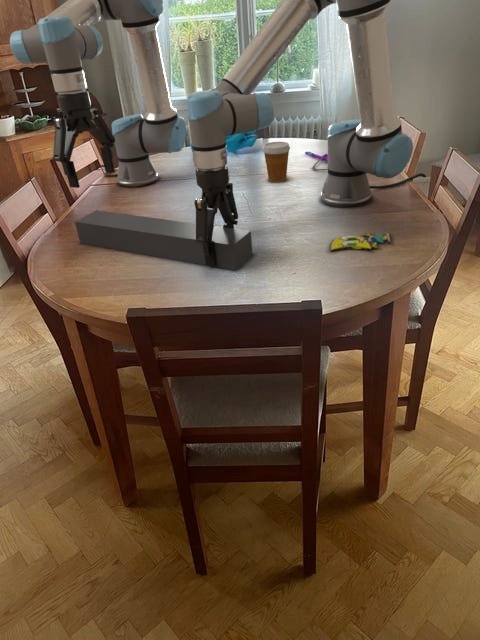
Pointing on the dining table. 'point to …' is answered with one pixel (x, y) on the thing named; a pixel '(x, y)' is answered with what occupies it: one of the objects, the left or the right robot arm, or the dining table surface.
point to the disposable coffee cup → (276, 160)
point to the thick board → (163, 238)
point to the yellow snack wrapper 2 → (358, 242)
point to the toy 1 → (239, 141)
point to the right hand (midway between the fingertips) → (221, 257)
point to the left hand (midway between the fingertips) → (93, 179)
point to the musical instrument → (324, 158)
